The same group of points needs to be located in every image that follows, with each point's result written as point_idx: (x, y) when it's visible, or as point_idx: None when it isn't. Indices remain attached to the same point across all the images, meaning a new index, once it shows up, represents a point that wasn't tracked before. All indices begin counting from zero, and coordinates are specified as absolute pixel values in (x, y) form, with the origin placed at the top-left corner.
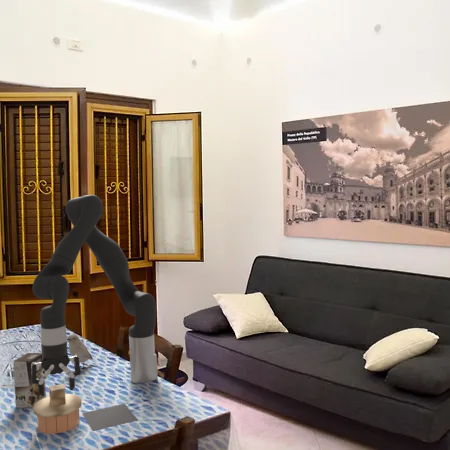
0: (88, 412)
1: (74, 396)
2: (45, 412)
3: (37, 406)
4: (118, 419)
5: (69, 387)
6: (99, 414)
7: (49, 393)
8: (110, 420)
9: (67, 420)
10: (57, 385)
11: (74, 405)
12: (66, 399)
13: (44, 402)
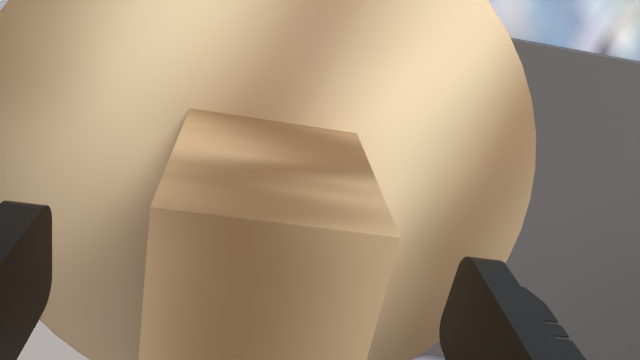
0: (551, 63)
1: (499, 135)
2: (76, 338)
3: (14, 136)
4: (618, 309)
5: (468, 261)
6: (585, 161)
7: (170, 163)
8: (574, 294)
9: None
10: (300, 255)
11: (380, 348)
12: (385, 161)
13: (123, 70)
